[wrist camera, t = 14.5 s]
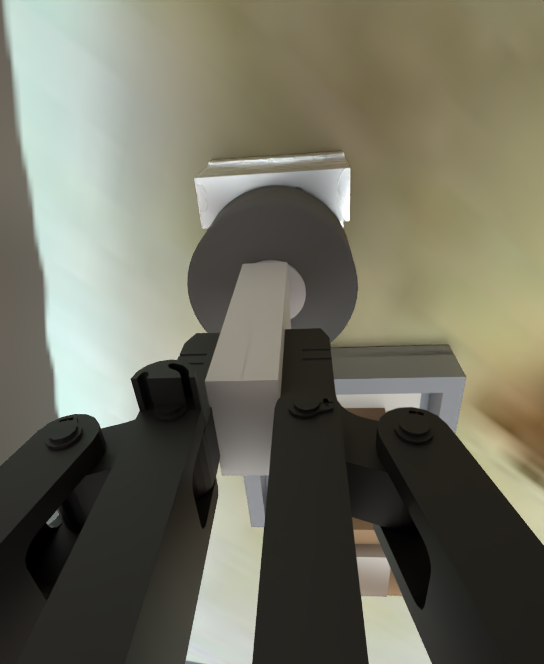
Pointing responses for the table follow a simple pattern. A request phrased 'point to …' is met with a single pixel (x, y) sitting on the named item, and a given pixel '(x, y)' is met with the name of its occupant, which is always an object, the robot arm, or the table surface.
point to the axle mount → (275, 180)
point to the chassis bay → (384, 392)
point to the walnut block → (372, 543)
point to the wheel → (277, 258)
